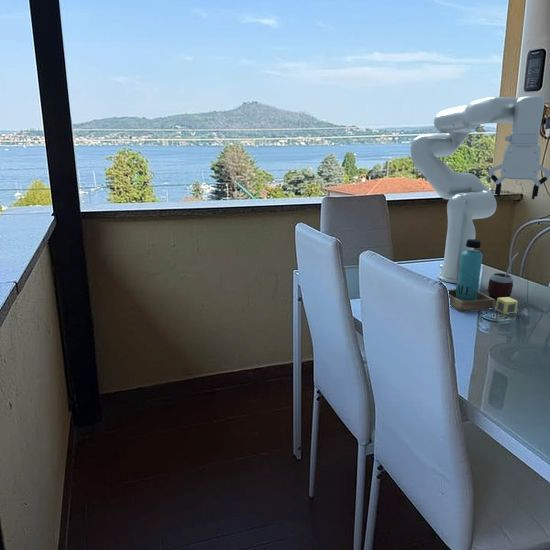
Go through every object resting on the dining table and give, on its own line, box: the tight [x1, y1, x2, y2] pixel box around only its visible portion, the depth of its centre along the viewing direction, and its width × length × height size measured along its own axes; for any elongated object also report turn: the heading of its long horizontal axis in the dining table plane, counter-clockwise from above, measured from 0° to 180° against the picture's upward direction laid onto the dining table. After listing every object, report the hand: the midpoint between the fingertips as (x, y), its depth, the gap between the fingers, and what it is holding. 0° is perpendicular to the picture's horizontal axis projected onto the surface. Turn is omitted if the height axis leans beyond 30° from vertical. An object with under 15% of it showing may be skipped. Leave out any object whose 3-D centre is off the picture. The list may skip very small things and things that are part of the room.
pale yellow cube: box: [495, 296, 519, 315], centre depth 138 cm, size 4×4×4 cm
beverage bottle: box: [455, 238, 484, 301], centre depth 142 cm, size 6×7×20 cm
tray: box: [447, 288, 496, 313], centre depth 145 cm, size 12×12×3 cm
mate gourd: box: [487, 252, 520, 300], centre depth 148 cm, size 8×8×15 cm
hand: (515, 197), depth 143 cm, fingers open, 9 cm apart
